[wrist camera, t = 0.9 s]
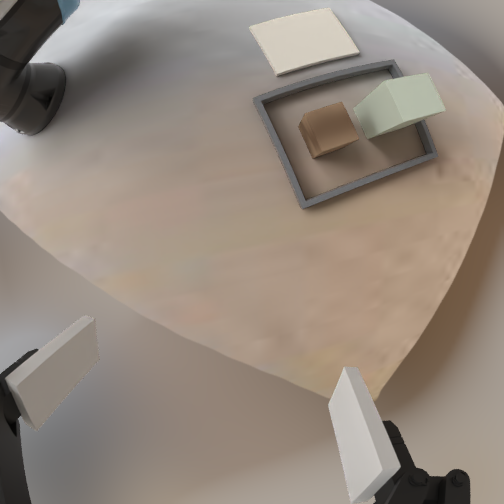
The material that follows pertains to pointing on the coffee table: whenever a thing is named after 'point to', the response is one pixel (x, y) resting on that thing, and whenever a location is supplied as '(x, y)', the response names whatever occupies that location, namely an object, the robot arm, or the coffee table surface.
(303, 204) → the grey rectangular frame
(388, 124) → the sage box
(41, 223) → the coffee table surface
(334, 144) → the walnut block
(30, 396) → the robot arm
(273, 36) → the tile
